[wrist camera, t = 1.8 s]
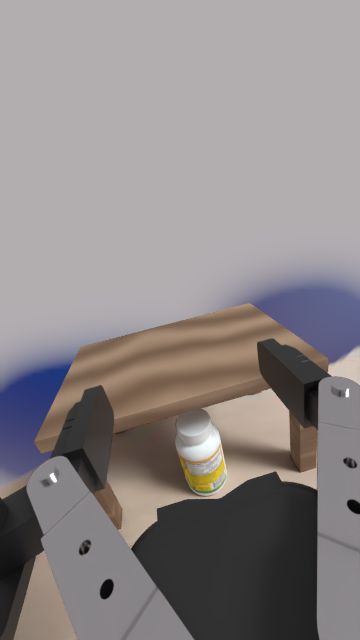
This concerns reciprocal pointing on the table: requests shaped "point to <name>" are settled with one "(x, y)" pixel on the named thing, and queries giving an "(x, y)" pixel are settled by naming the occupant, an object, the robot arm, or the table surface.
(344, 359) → the table surface
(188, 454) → the supplement bottle
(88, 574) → the robot arm
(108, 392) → the walnut shelf
